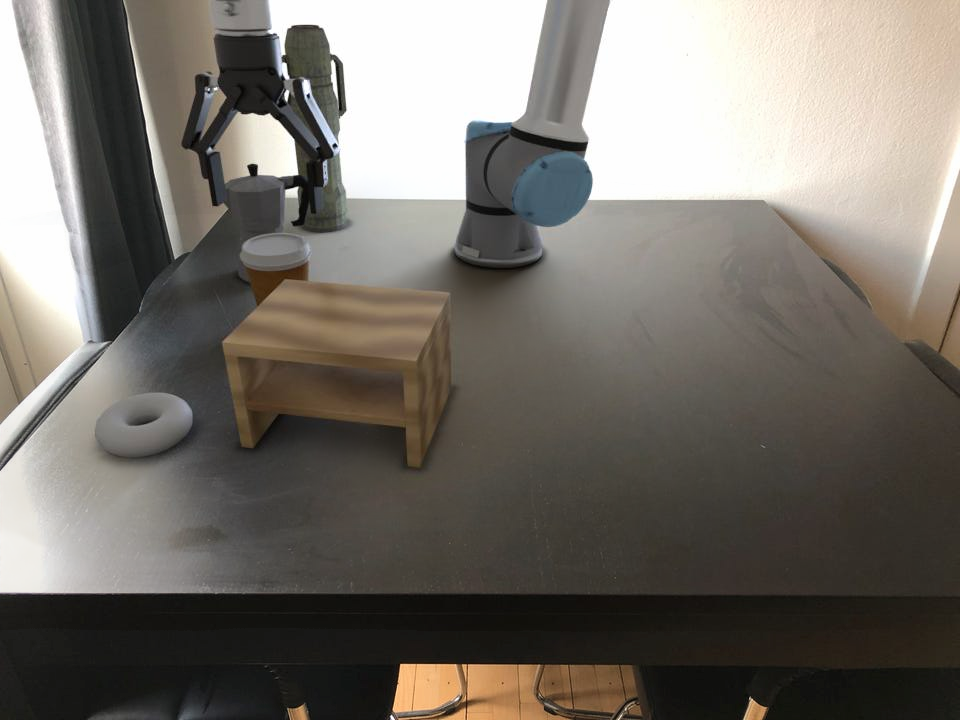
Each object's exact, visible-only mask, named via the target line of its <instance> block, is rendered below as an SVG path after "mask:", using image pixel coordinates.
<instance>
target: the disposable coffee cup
mask: <svg viewBox="0 0 960 720" xmlns="http://www.w3.org/2000/svg"><path fill="white" fill-rule="evenodd" d="M312 252H313V251H312V247H311V246H310V245H309V243H308V240H307V239H306V238H305V237H304V236H302V235H299V234H297V233H288V232H284V233H271V234H265V235H260V236H256V237H253V238H251V239H249V240H247V241H246V242H244V244H243V245H242V252H241V253H240V259H241V261H243V264H244V265H245V267H246V270H247V274H248V277H249V280H250V282H249V283H250V286H251V291H252V294H253V296H254V300H255V303H256V308H257V307H258V306H259V305H260V304H261V303H262V302H263V301H264V300H265V299H266V298H267V297H268V296H269V295H270V294H271V293H272V292H273V291H274V290H275V289H276V288H277V287H278V286H279V285H280V284H281V283H282V282H283V281H284V280H285V279H289V280H301V281H310V280H309V276H310V275H309V273H310V271H309V270H310V269H309V268H310V258H311V255H312Z"/></svg>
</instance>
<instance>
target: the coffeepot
mask: <svg viewBox="0 0 960 720" xmlns="http://www.w3.org/2000/svg"><path fill="white" fill-rule="evenodd" d="M246 166H247V167H246V168H247V170H248V173H249V175H246V176H245V175H244V176H241V177H237V178H233V179H232V178H231V179H229V180H228V181H227V182H225V189H226V195H227V201H226V202H224V203H223V204H224V206H225V207H226V208H227V210H229V211H230V213H231V215H232V216H231V217H232V219H233V221H234V225H235V227H236V228H237V229H239V233H240V234H239V235H240V237H239V239H238V270H237V271H238V273H237V275H238V277H239V278H240V279H242V280H243V281H245V282H247V283H250V280H249V277H248V274H247V270H246V267H245V265H244V264H243V261H241V259H240V253H241V252H242V245H243V244H244V242H246V241H247V240H249V239H251V238H253V237H256V236H260V235H265V234H271V233H285V232H284V227H283V225H284V223H285V220H286V219H285V218H286V191H288V190H291V189H295V188H298V187H302V188H303V190H302V193H301V204H300V206H299V205H298V218H297V219H295V220H291V221H290V223H291V225H292V226H293V227H302V225H304V224H305V222H306V218H307V213H308V209H309V205H310V200H309V189H308V180H307V179H306V178H305V177H304V176H303V175H298V174H295V175H294V174H293V175H285V176H284V175H283V176H282V175H281V176H279V177H278V176H275V175H270V174H269V175H267V174H259V173H258V172H259V164H257V163H250V164H247V165H246Z"/></svg>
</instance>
